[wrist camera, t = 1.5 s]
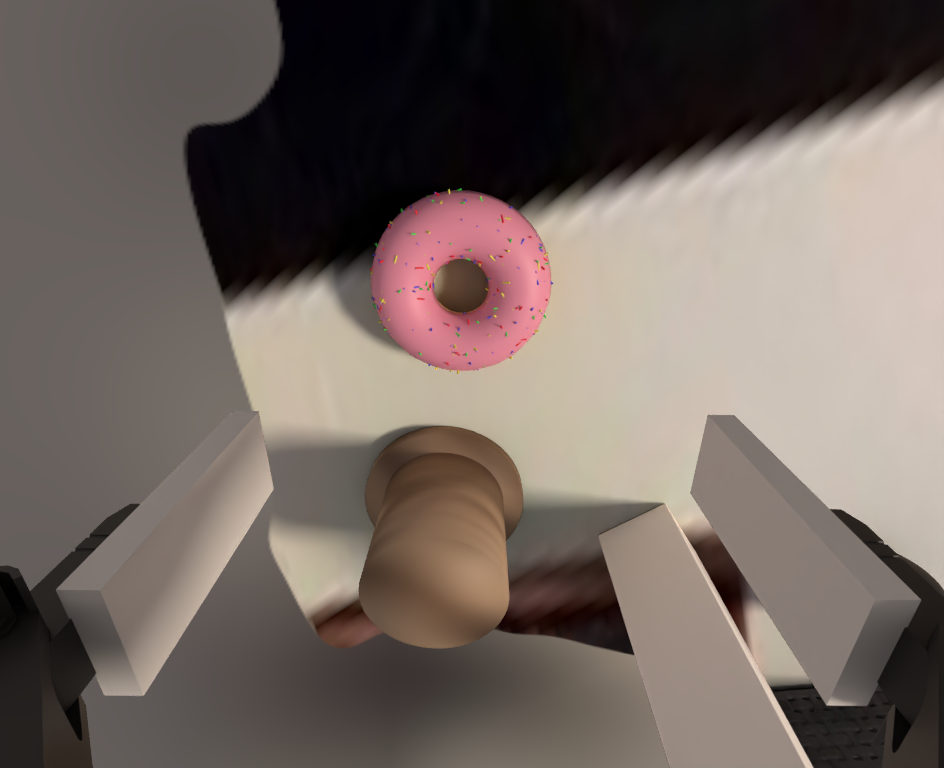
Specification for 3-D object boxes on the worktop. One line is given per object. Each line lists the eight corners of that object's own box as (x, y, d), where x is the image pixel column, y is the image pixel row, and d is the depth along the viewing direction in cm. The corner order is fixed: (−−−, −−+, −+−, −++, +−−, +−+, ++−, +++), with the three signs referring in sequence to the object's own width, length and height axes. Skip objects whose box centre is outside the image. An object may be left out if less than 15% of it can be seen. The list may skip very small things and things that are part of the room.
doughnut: (473, 387, 35) (472, 415, 31) (343, 289, 32) (325, 306, 28) (582, 268, 31) (596, 283, 28) (447, 146, 29) (442, 144, 25)
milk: (664, 501, 39) (866, 870, 18) (696, 551, 41) (908, 933, 21) (595, 535, 40) (712, 910, 20) (629, 582, 42) (766, 965, 22)
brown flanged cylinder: (425, 396, 35) (406, 479, 26) (554, 481, 38) (576, 583, 29) (339, 504, 39) (297, 609, 30) (461, 573, 42) (455, 688, 33)
